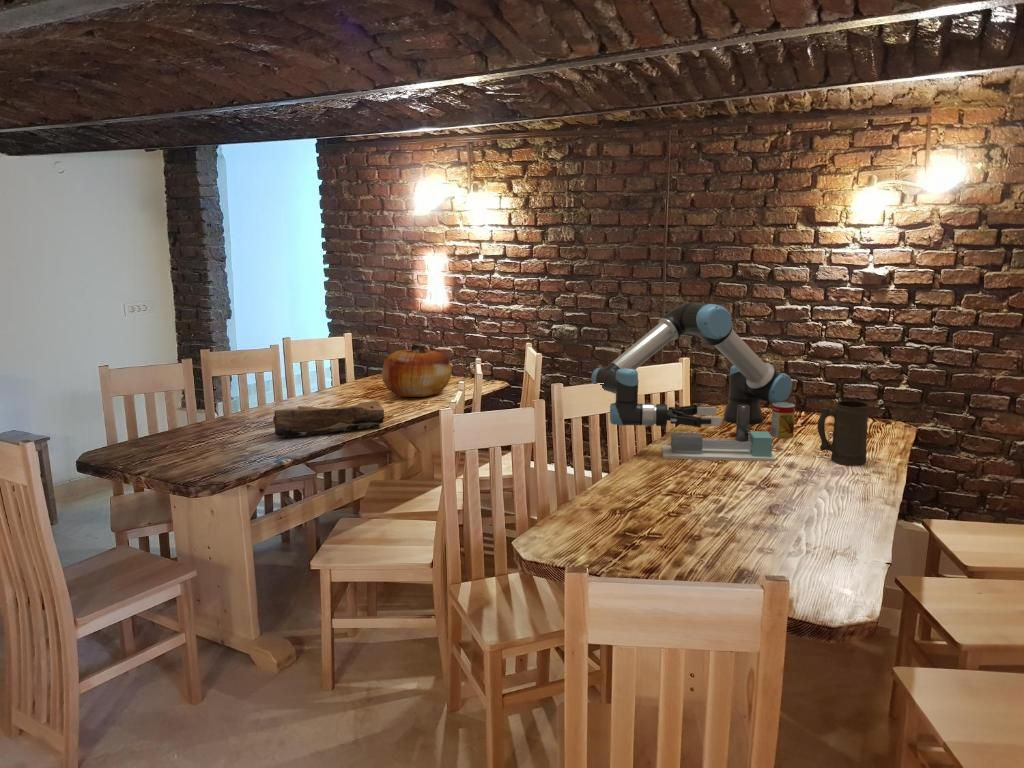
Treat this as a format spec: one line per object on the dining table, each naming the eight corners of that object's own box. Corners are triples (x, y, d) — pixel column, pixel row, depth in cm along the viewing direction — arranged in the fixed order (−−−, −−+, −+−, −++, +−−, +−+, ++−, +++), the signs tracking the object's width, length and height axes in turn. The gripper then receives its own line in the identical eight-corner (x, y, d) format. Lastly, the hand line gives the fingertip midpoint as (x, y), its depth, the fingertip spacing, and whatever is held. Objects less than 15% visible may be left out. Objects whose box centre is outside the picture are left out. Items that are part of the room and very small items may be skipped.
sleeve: (671, 453, 253) (672, 436, 252) (671, 448, 259) (671, 432, 257) (701, 453, 251) (702, 437, 250) (700, 449, 257) (700, 432, 256)
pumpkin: (458, 388, 371) (454, 338, 367) (445, 400, 339) (441, 345, 335) (394, 391, 375) (389, 342, 371) (376, 403, 342) (371, 349, 338)
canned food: (797, 437, 273) (799, 405, 270) (780, 439, 270) (782, 407, 267) (782, 432, 280) (784, 401, 277) (766, 434, 277) (767, 403, 274)
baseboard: (663, 458, 251) (663, 455, 251) (661, 448, 262) (661, 445, 262) (775, 461, 245) (775, 458, 245) (768, 451, 257) (769, 448, 256)
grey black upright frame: (698, 449, 252) (700, 406, 249) (697, 445, 256) (698, 403, 253) (762, 450, 249) (764, 407, 246) (760, 447, 253) (762, 404, 250)
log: (271, 441, 279) (275, 403, 275) (268, 426, 294) (272, 390, 291) (382, 445, 295) (387, 409, 292) (374, 431, 311) (378, 397, 307)
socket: (752, 456, 248) (753, 437, 247) (749, 449, 256) (749, 431, 254) (771, 456, 247) (772, 438, 246) (767, 449, 255) (768, 431, 253)
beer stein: (861, 456, 249) (862, 398, 245) (873, 466, 238) (874, 406, 234) (814, 458, 250) (813, 401, 246) (824, 468, 240) (824, 409, 236)
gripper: (653, 416, 267) (714, 417, 264) (656, 435, 243) (722, 436, 239) (654, 396, 265) (714, 397, 262) (656, 413, 241) (723, 414, 238)
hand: (718, 416), depth 251 cm, fingers open, 13 cm apart
